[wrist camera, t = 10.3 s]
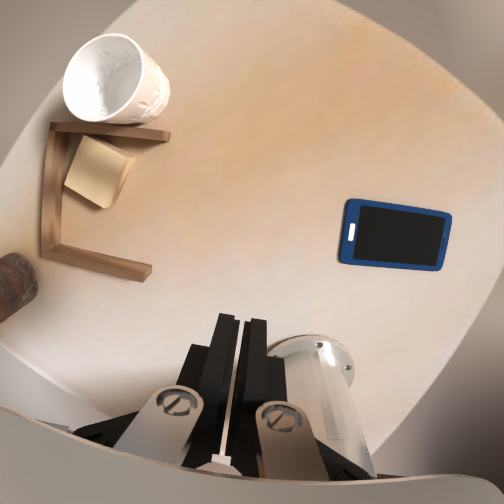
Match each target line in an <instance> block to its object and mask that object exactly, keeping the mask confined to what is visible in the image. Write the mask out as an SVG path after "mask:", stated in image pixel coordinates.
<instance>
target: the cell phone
mask: <svg viewBox="0 0 504 504" xmlns="http://www.w3.org/2000/svg"><path fill="white" fill-rule="evenodd" d="M451 224H452V216H451V215H450V214H449V213H446V212H442V211H436V210H430V209H424V208H418V207H412V206H405V205H399V204H392V203H385V202H378V201H371V200H363V199H349V200H348V202H347V204H346V209H345V217H344V224H343V231H342V238H341V245H340V251H339V259H340V261H341V262H342V263H345V264H351V265H363V266H375V267H387V268H400V269H412V270H425V271H439V270H441V268H442V266H443V263H444V259H445V254H446V249H447V245H448V240H449V235H450V230H451Z"/></svg>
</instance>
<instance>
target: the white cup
mask: <svg viewBox="0 0 504 504" xmlns="http://www.w3.org/2000/svg"><path fill="white" fill-rule="evenodd" d="M169 96H170V86H169V80H168V79H167V77H166V76H165V75H164V73H163V72H162V71H161V69H160V68H159V66H158V65H157V64H156V63H155V62H154V61H153V60H152V58H151V57H150V56H149V55H148V54H147V53H146V52H145V51H144V50H143V49H142V48H141V47H140V46H139V45H138V44H137V43H136V42H135V41H133V40H132V39H131V38H129V37H127V36H125V35H121V34H105V35H101V36H99V37H96V38H94V39H92V40H90V41H89V42H87V43H86V44H85V45H83V46H82V47H81V48H80V49H79V50H78V51H77V52H76V54H75V55H74V56H73V58H72V59H71V61H70V63H69V64H68V66H67V69H66V71H65V74H64V78H63V97H64V101H65V104H66V106H67V107H68V109H69V110H70V112H71V113H72V114H73V115H75V116H76V117H77V118H79V119H81V120H84V121H89V122H104V123H121V124H131V123H132V124H134V123H146V122H148V121H150V120H152V119H154V118H156V117H158V115H159V114H160V113H161V112H162V111H163V109H164V108H165V107H166V106H167V103H168V99H169Z"/></svg>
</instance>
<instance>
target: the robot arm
mask: <svg viewBox="0 0 504 504" xmlns="http://www.w3.org/2000/svg"><path fill="white" fill-rule="evenodd" d="M234 317H235V316H234V315H228V314H222V313H220V314H219V317H218V320H217V324H216V327H215V330H214V334H213V337H212V340H211V344H210V347H207V346H201V345H196V344H192V345H191V347H190V349H189V352H188V354H187V357H186V359H185V362H184V365H183V367H182V370H181V372H180V375H179V378H178V380H177V383H176V385H169V386H164V387H161V388H159V389H157V390H156V391H155V392H154V393H153V394H152V395H151V397H150V398H149V399H148V401H147V402H146V403H145V405H144V406H143V407H142V409H141V410H140V411H137V412H133V413H130V414H127V415H124V416H120V417H117V418H113V419H110V420H107V421H102V422H99V423H95V424H91V425H88V426H84V427H81V428H79V429H77V430H76V431H70V429H69V427H68V426H62V425H57V424H53V423H48V422H44V421H39V420H35V419H32V418H30V417H27V416H25V415H22V414H20V413H17V412H14V411H12V410H9V409H6V408H2V407H0V504H504V495H503V494H502V493H501V492H500V490H499V489H498V488H497V487H496V486H494V485H493V484H492V483H490V482H488V481H486V480H484V479H481V478H476V477H471V476H464V475H445V474H442V475H424V476H414V477H410V476H397V475H387V474H378V473H377V474H375V470H374V467H373V464H372V460H371V457H370V454H369V451H368V447H367V444H366V440H365V437H364V434H363V431H362V427H361V424H360V421H359V418H358V415H357V412H356V408H355V405H354V402H353V399H352V396H351V393H350V390H349V388H350V387H351V385H352V382H353V379H354V374H355V369H354V363H353V360H352V358H351V356H350V354H349V352H348V351H347V350H346V349H345V347H344V346H343V345H341V344H340V343H338V342H337V341H335V340H332V339H330V338H327V337H322V336H312V335H307V336H300V337H295V338H292V339H289V340H287V341H284V342H282V343H280V344H279V345H277V346H276V347H274V348H273V349H272V350H271V351H270V352H269V353H267V320H261V319H254V318H251V322H247V321H245V323H244V330H243V336H242V342H241V348H240V354H239V360H238V367H237V373H236V379H235V385H234V392H233V399H232V407H231V414H230V421H229V428H228V435H227V442H226V450H225V456H231V463H230V466H233V467H235V468H236V469H237V470H238V471H239V472H240V473H241V476H236V475H229V474H222V473H215V472H209V471H204V470H198V467H200V466H202V465H204V464H206V463H208V462H209V463H211V459H212V454H217V455H219V452H220V446H221V440H222V433H223V427H224V421H225V414H226V408H227V401H228V395H229V389H230V382H231V376H232V369H233V363H234V356H235V350H236V343H237V337H238V330H239V324H240V320H235V319H234ZM318 342H319V343H318Z"/></svg>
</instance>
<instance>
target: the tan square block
mask: <svg viewBox="0 0 504 504" xmlns="http://www.w3.org/2000/svg"><path fill="white" fill-rule="evenodd" d="M135 159H136V157H135V156H133V155H131V154H130V153H128V152H126V151H124V150H122V149H120V148H118V147H116V146H114V145H112V144H110V143H109V142H107V141H105V140H103V139H101V138H99V137H97V136H93V135H84V136H83V138H82V140H81V143H80V145H79V147H78V150H77V152H76V155H75V157H74V160H73V162H72V165H71V167H70V170H69V172H68V175H67V178H66V180H65V183H64V185H66V186H67V187H69V188H71V189H72V190H74V191H76V192H77V193H79V194H81V195H82V196H84V197H86V198H87V199H89V200H91V201H92V202H94V203H96V204H97V205H99V206H101V207H102V208H104V209H105V208H107V207H110V206H113V205H115V203H116V201H117V199H118V196H119V194H120V192H121V189H122V187H123V185H124V183H125V180H126V178H127V176H128V174H129V172H130V169H131V167H132V165H133V163H134V161H135Z"/></svg>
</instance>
